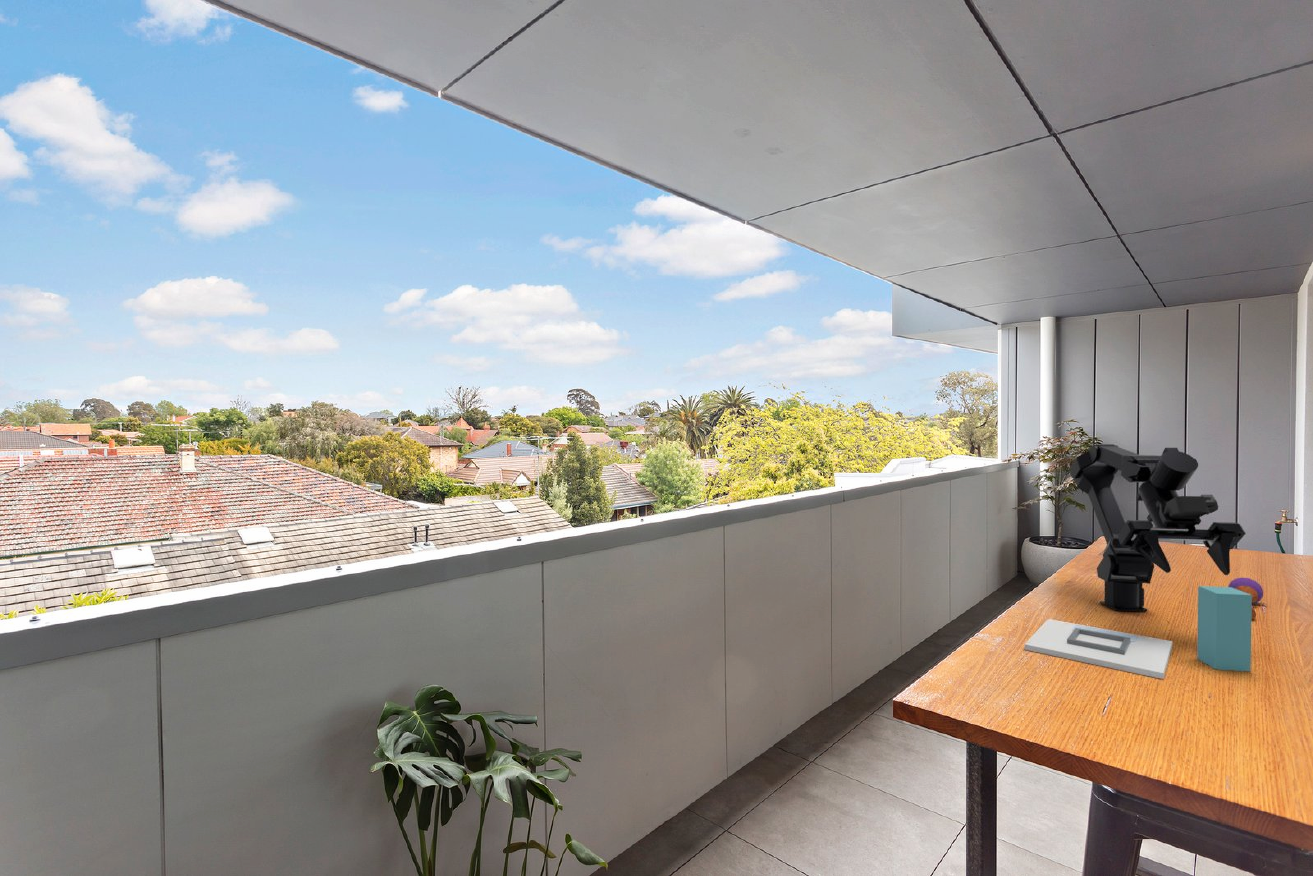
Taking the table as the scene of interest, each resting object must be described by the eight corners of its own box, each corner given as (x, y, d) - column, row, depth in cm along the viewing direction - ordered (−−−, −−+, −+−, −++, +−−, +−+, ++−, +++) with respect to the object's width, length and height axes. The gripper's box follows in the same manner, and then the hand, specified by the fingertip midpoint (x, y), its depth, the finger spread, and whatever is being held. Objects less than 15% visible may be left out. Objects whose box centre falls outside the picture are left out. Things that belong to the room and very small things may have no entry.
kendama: (1222, 599, 133) (1225, 575, 148) (1229, 626, 133) (1231, 599, 148) (1261, 599, 129) (1259, 574, 144) (1268, 627, 129) (1266, 600, 143)
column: (1197, 658, 110) (1198, 585, 110) (1230, 660, 109) (1231, 587, 109) (1215, 669, 105) (1216, 593, 105) (1250, 672, 104) (1251, 595, 104)
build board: (1048, 623, 129) (1048, 615, 129) (1172, 646, 116) (1172, 637, 116) (1024, 649, 115) (1024, 639, 115) (1163, 679, 101) (1163, 668, 101)
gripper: (1125, 478, 121) (1156, 546, 110) (1239, 480, 116) (1283, 550, 106) (1105, 513, 128) (1133, 579, 118) (1211, 515, 124) (1249, 584, 114)
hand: (1198, 572), depth 114 cm, fingers open, 9 cm apart
